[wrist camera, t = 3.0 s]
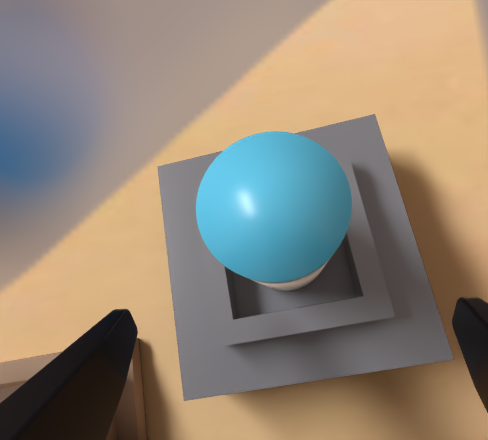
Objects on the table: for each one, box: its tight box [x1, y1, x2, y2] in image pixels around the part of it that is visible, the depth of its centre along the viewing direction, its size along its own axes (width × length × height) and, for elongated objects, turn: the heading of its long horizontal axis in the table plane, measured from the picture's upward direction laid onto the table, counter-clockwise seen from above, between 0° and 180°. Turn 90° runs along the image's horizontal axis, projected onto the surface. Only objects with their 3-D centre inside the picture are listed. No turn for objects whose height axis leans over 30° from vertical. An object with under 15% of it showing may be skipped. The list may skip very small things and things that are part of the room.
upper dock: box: [158, 114, 454, 401], centre depth 17 cm, size 12×12×6 cm
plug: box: [196, 132, 352, 291], centre depth 12 cm, size 4×4×8 cm
